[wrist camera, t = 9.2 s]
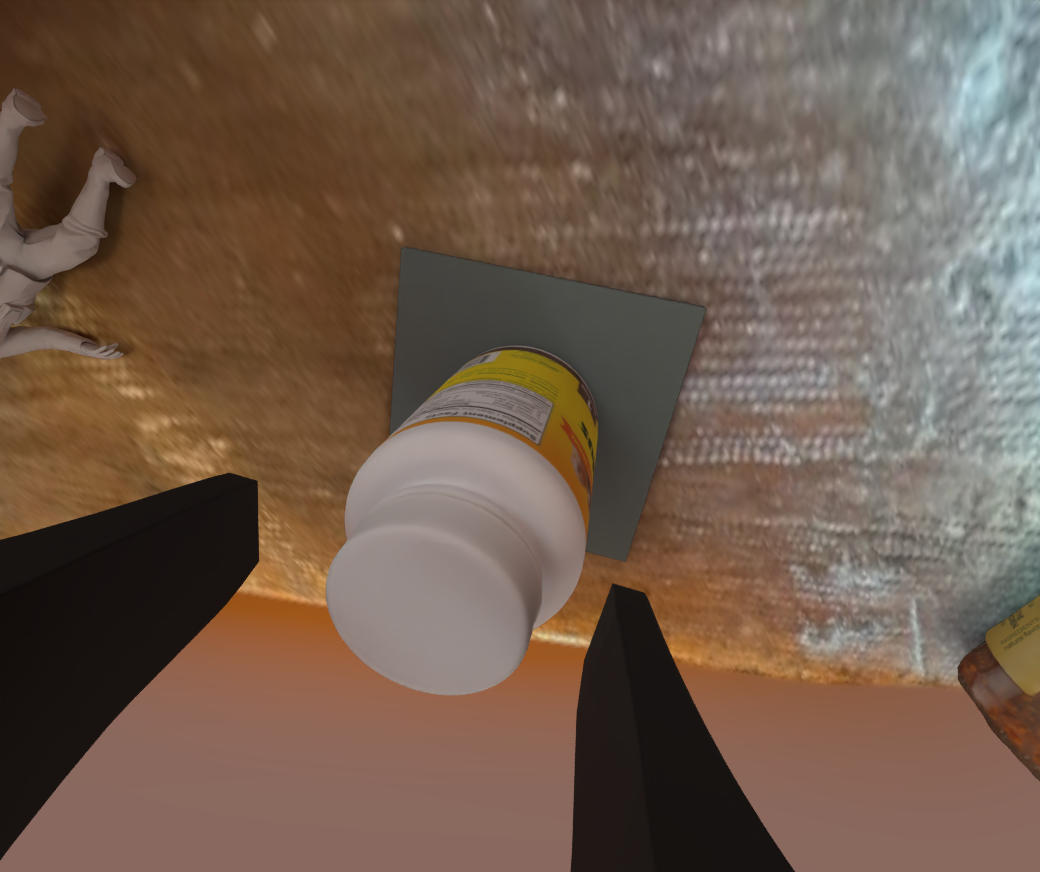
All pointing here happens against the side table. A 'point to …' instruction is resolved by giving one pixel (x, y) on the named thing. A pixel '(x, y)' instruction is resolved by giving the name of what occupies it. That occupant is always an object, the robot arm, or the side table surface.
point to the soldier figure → (47, 239)
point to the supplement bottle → (469, 524)
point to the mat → (571, 337)
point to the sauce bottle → (1009, 682)
